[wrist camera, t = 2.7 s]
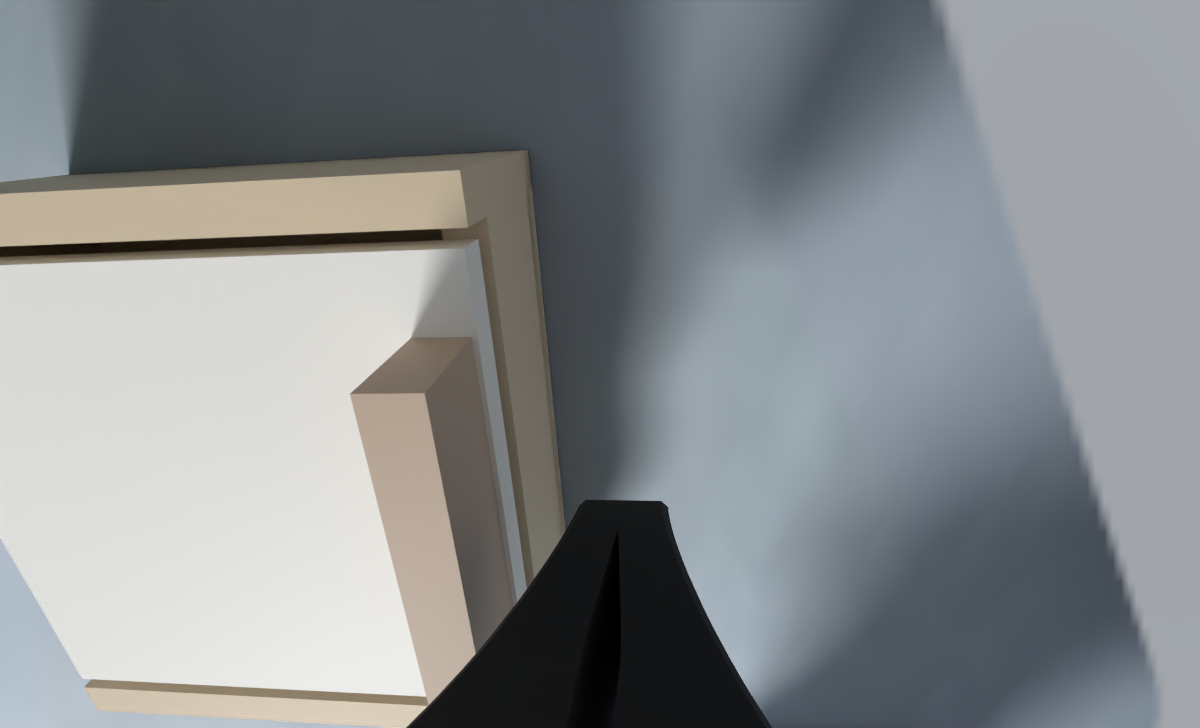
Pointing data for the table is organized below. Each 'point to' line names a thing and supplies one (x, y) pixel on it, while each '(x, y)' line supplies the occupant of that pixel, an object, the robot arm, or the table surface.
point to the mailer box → (321, 217)
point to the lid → (259, 463)
